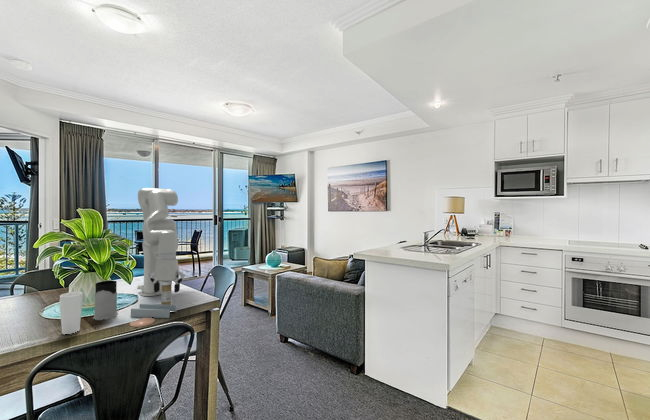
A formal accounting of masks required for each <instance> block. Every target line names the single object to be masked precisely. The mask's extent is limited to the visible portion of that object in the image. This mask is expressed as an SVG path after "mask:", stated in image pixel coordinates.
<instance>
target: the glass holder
mask: <svg viewBox="0 0 650 420" xmlns="http://www.w3.org/2000/svg"><path fill="white" fill-rule="evenodd" d="M117 284H118V283H117V280H103V281H99V282H95V287H94V288H95V290H94V291H95V294H94V315H93V318H92V319H93V320H94V319H95V321H104V320H103V319H105V320H110V319H113V318H116V317H117V316H118V315H119V313H118V310H117V307H118V306H117V303H118V301H117V300H118V298H117V297H118V292H117V287H118V286H117ZM109 318H110V319H109Z"/></svg>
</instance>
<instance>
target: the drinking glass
mask: <svg viewBox="0 0 650 420" xmlns="http://www.w3.org/2000/svg"><path fill="white" fill-rule="evenodd" d="M83 297H84V295H83V292H82V291H71V292H66V293H62V294H60V295H59V314H60V315H59V316H60V323H61V334H62V335H65V334H70V335H72V334H71V333H74V334H76V333H78V332H79V331H80V330H81V318H82V311H83V303H84V300H83V299H84V298H83ZM77 331H78V332H77ZM75 332H76V333H75ZM65 336H66V335H65Z"/></svg>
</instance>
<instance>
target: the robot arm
mask: <svg viewBox="0 0 650 420" xmlns="http://www.w3.org/2000/svg"><path fill="white" fill-rule="evenodd" d="M178 198H179V197H178V194H177V192H176V191H175V190H173V189H172V188H171V189H170V188H157V187H144V188H143V187H142V188H141V189H139V190H138V192H137V201H138V204H139V208H140V209H141V211H142V216H143V217H142V218H143V223H142V236H143V237H142V238H143V241H142V243H141V245H142V251H143V285H142V284H138V285H137V287H136V289H137V290H140V293H139V295H140V296H142V297H156V296H161V291H162V285H161V281H172V282H173V283H175V284H174V287H173V288H174V293H178V292H179V291H180V288H181V286H180V284H181V283H182V281H184V279H185V277H186V274H185V273H183V272H182V271H180V269H179V268H180V267H179V266H180V265H179V261H178V258H177V251H178V248H179V239H178V231H177V225H176V222H175V220H173V219H171V218H168V217H169V214H170V212H169V208H168V207H169V206H170V207H174V206H177V204H178V203H179V202H178V201H179V199H178ZM179 277H180V278H179Z"/></svg>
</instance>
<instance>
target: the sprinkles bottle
mask: <svg viewBox="0 0 650 420" xmlns="http://www.w3.org/2000/svg"><path fill="white" fill-rule="evenodd" d="M172 284H173V281H161V285H162V291H161V295H160V296H161V297H160V298H161V299H160V300H161V301H160V302H161V303H160V304H163V305H172V295H173V294H172V290H173V289H172Z"/></svg>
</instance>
